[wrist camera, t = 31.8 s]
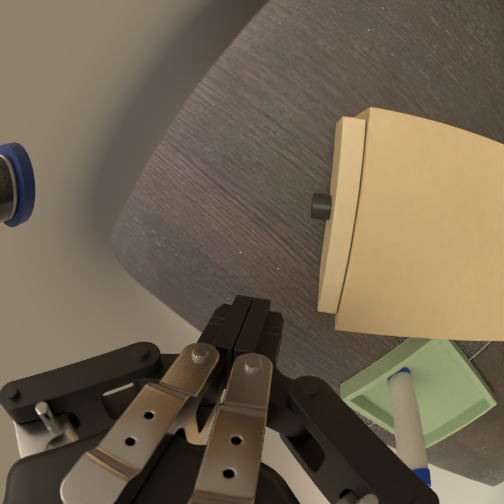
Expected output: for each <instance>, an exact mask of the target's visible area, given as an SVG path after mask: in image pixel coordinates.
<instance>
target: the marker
mask: <svg viewBox="0 0 504 504" xmlns="http://www.w3.org/2000/svg"><path fill="white" fill-rule="evenodd" d="M388 384H389V390H390V397H391V404H392V412H393V420H394V429H395V439H396V450H397V456H398V457H399V458H400V459H401V460H402V461H403V462H404V463H405V464H406V465H407V466H408V467H409V468H410V469H411V470H412V471H413V472H414V473H415V474H416V475H417V476H418V477H419V478H420V479H421V480H422V481H423V482H424V483H426V484H427V485H428V486H429V487H430V486H431V480H430V470H429V469H428V463H427V456H426V448H425V442H424V435H423V430H422V424H421V418H420V413H419V408H418V403H417V399H416V394H415V390H414V385H413V381H412V376H411V372H410V370H409V369H408V368H406V367H403V368H402V369H400V370H399V371H397V372H396V373H394V374H393V375H391V376H390V377H388Z"/></svg>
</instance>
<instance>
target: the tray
mask: <svg viewBox="0 0 504 504" xmlns="http://www.w3.org/2000/svg"><path fill="white" fill-rule="evenodd" d="M403 367H406V368H408V369H409V370H410V372H411V376H412V381H413V385H414V390H415V394H416V399H417V403H418V408H419V413H420V418H421V424H422V430H423V435H424V442H425V448H428V447H430V446H432V445H434V444H436V443H437V442H439V441H441V440H443V439H445V438H446V437H448V436H450V435H452V434H453V433H455V432H457V431H458V430H460V429H462V428H463V427H465V426H466V425H468V424H469V423H471V422H472V421H474V420H475V419H477V418H478V417H480V416H481V415H483V414H484V413H486V412H487V411H488V410H490V409H491V408H493V407H494V406H495V405H497V403H496V401H495V398H494V396H493V393H492V391H491V390H490V388H489V387H488V386H487V384H486V383H485V381H484V380H483V379H482V377H481V376H480V374H479V373H478V372H477V370H476V369H475V367H474V366H473V365H472V363H471V362H470V361H469V359H468V358H467V357H466V356H465V354H464V353H463V352H462V350H461V349H460V348H459V346H458V345H457V344H456V343H455V341H454V340H446V339H428V338H413V337H409V338H407V339H406V340H405V341H403V342H402V343H401V344H399V345H398V346H397V347H395V348H394V349H393V350H391V351H390V352H388V353H387V354H386V355H384V356H383V357H381V358H380V359H378V360H377V361H375V362H374V363H373V364H371V365H370V366H368V367H367V368H365V369H364V370H362V371H361V372H359V373H357V374H356V375H354V376H353V377H351V378H350V379H348V380H346V381H345V382H343V383H341V384H340V387H341V388H340V398H341V399H342V400H343V401H344V402H345V403H346V404H347V405H348V406H349V407H351V408H352V409H354V410H355V411H357V412H358V413H360V414H362V415H363V416H365V417H366V418H368V419H369V420H371V421H373V422H374V423H376V424H378V425H379V426H381V427H382V428H384V429H386V430H387V431H389V432H391V433H392V434H394V435H395V429H394V420H393V412H392V404H391V397H390V390H389V384H388V377H390V376H391V375H393V374H394V373H396V372H397V371H399V370H400V369H402V368H403Z"/></svg>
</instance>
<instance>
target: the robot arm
mask: <svg viewBox="0 0 504 504" xmlns="http://www.w3.org/2000/svg"><path fill="white" fill-rule="evenodd" d="M18 206H19V182H18V177H17V173H16V169H15V166H14V164H13V162H12V160H11V159H10V157H9V156H8V155H6V154H0V223H1V222H3V221H7V220H9V219H12V218H13V217H14V216H15V215H16V213H17V210H18ZM270 307H271V300H268V299H261V298H254V297H248V296H242V295H237V296H236V298H235V300H234V302H233V304H232V305H229V304H223V305H221V306H220V307H218V308H217V309H216V310H215V312H214V313H213V315H212V318H211V319H210V320H209V323H208V324H207V326H206V327H205V329H204V331H203V333H202V334H201V336H200V338H199V340H198V341H197V343H194V344H191V345H189V346H187V347H185V348H184V349H183V351H182V352H181V353H180V354H160V350H159V348H158V347H157V346H156V345H155V344H153V343H150V342H138V343H135V344H131V345H129V346H126V347H123V348H120V349H117V350H114V351H111V352H108V353H105V354H102V355H99V356H96V357H92V358H89V359H86V360H83V361H80V362H77V363H74V364H70V365H67V366H64V367H61V368H57V369H54V370H51V371H47V372H44V373H41V374H37V375H34V376H30V377H26V378H23V379H19V380H16V381H12V382H10V383H7V384H6V385H5V386H3V388H2V389H1V391H0V404H1V405H2V406H3V408H4V409H5V410H6V412H7V413H8V414H9V416H10V418H11V419H12V421H13V422H14V427H15V433H16V439H17V443H18V448H19V453H20V457H21V459H19V460H18V461H17V462H15V463H14V464H13V466H12V467H11V469H10V470H9V473H8V476H7V483H6V492H5V498H4V502H3V504H300V503H299V501H298V500H297V498H296V497H295V495H294V494H293V492H292V491H291V489H290V488H289V486H288V484H287V483H286V482H285V480H284V479H283V478H282V477H281V476H280V475H279V474H278V473H277V472H276V471H275V470H273V469H272V468H271V467H269V466H268V465H266V464H264V463H262V462H261V456H262V449H263V442H264V435H265V428H266V427H269V428H270V429H273V430H275V431H277V432H279V434H280V437H281V439H282V440H283V442H284V443H285V445H286V446H287V447H288V449H289V450H290V452H291V453H292V454H293V456H294V457H295V458H296V460H297V461H298V462H299V464H300V465H301V467H302V468H303V469H304V470H305V472H306V473H307V474H308V476H309V477H310V478H311V479H312V481H313V482H314V484H315V485H316V486H317V487H318V489H319V490H320V491H321V492H322V494H323V495H324V496H325V497H326V498H327V500H328V501H329V502H330V503H331V504H439V499H438V496H437V495H436V493H435V492H434V491H433V490H432V489H431V488H430V487H429V486H428V485H427V484H426V483H424V482H423V481H422V480H421V479H420V478H419V477H418V476H417V475H416V474H415V473H414V472H413V471H412V470H411V469H410V468H409V467H408V466H407V465H406V464H405V463H404V462H403V461H402V460H401V459H400V458H399V457H398V456H397V455H396V454H395V453H394V452H393V451H392V450H391V449H390V448H389V447H388V446H387V445H386V444H385V443H384V442H383V441H382V440H381V439H380V438H379V437H378V436H377V435H376V434H375V433H374V432H373V431H372V430H371V429H370V428H369V427H368V426H367V425H366V424H365V423H364V422H363V421H362V420H361V419H360V418H359V417H358V416H357V415H356V414H355V413H354V412H353V410H352V409H351V408H350V407H349V406H348V405H347V404H346V403H345V402H344V401H343V400H342V399H341V398H340V397H339V396H338V395H337V394H336V393H335V392H334V390H333V389H332V388H331V387H330V386H329V385H328V384H327V383H326V382H325V381H323V380H322V379H320V378H317V377H314V376H303V377H299V378H297V379H295V380H293V379H291V378H289V377H287V376H285V375H283V374H282V373H281V372H280V371H279V370H278V369H277V367H276V364H277V359H278V354H279V349H280V344H281V337H282V330H283V323H284V319H283V317H282V315H281V313H279V312H272V311H270ZM130 383H133V386H132V387H129V388H127V389H124V390H121V391H118V392H115V393H113V394H110V395H106V396H103V394H104V393H105V392H107V391H110V390H113V389H116V388H119V387H121V386H124V385H127V384H130ZM224 389H226V392H225V395H224V399H223V402H222V403H220V401H221V396H222V393H223V391H224ZM215 413H216V415H215ZM214 415H215V418H214V421H213V425H212V428H211V432H210V435H209V439H208V442H207V445H201V442H202V439H203V436H204V434H205V432H206V431H207V428H208V427H209V425H210V423H211V421H212V419H213V417H214Z"/></svg>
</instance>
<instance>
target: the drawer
mask: <svg viewBox="0 0 504 504" xmlns="http://www.w3.org/2000/svg"><path fill="white" fill-rule="evenodd" d="M365 132H366V120H365V119H359V118H353V117H346V116H344V117H342V118H341V119H340V120H339V121H338V122H337V123H336V130H335V143H334V155H333V166H332V176H331V186H330V195H325V194H317V193H314V194H313V200H312V209H311V218H315V219H323V220H326V227H325V235H324V242H323V249H322V255H321V262H320V278H319V298H318V311H319V312H327V313H334V314H336V313H337V310H338V306H339V302H340V297H341V293H342V288H343V284H344V279H345V274H346V269H347V264H348V259H349V253H350V248H351V242H352V236H353V230H354V224H355V218H356V211H357V204H358V197H359V190H360V182H361V173H362V164H363V155H364V144H365Z"/></svg>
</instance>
